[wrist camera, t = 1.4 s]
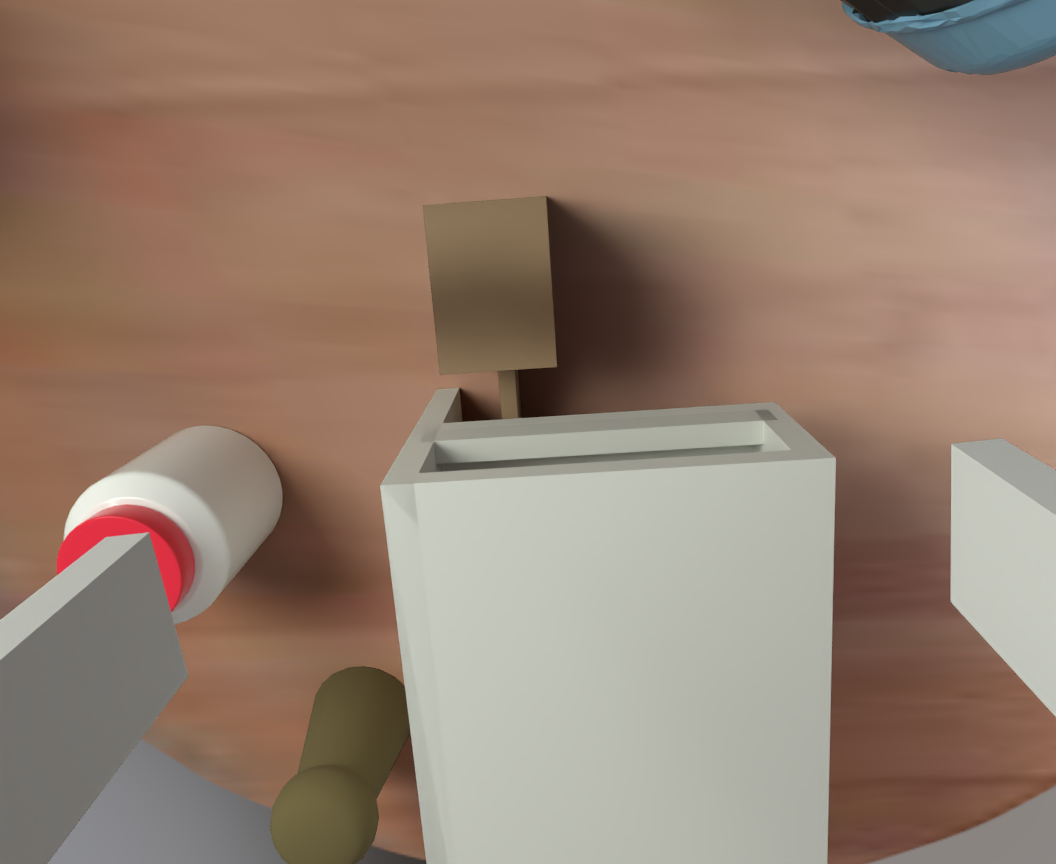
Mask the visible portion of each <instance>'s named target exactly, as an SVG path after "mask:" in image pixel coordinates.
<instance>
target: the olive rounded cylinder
mask: <svg viewBox="0 0 1056 864" xmlns="http://www.w3.org/2000/svg"><path fill="white" fill-rule="evenodd" d="M409 733H410V724H409V716H408V708H407V700H406V692H405V687H404V686H403V685H402V684H401V683H400V682H399V681H398V680H397V679H396V678H395V677H393V676H392V675H390V674H388V673H386V672H384V671H382V670H380V669H375V668H369V667H364V666H363V667H352V668H346V669H344V670H341V671H339V672H336V673H334V674H333V675H332V676H330V677H329V678H328V679H327V680H326V681H325V682H323V683H322V685H321V687H320V689H319V690H318V692H317V694H316V696H315V701H314V705H313V709H312V713H311V718H310V722H309V726H308V731H307V735H306V739H305V744H304V748H303V752H302V757H301V761H300V765H299V769H298V774H297V775H295V776H294V777H293V778H292V779H291V780H289V782H288V783H287V784H286V785H285V786H284V787H283V789H282V790H281V792H280V794H279V796H278V797H277V799H276V801H275V803H274V805H273V809H272V815H271V823H270V831H271V835H272V840H273V843H274V846H275V848H276V849H277V851H278V853H279V854H280V856H281V858H282V859H283V860H284V861H286V863H288V864H356V863H357V862H359V861H360V860H361V859H362V858H363V857H364V855H365V854H366V852H367V851H368V849H369V848H370V846H371V844H372V843H373V841H374V839H375V835H376V830H377V825H378V820H379V814H378V806H377V801H376V799H377V797H378V795H379V793H380V791H381V789H382V787H383V785H384V783H385V781H386V779H387V777H388V775H389V773H390V771H391V769H392V767H393V765H394V763H395V761H396V759H397V757H398V755H399V753H400V751H401V749H402V747H403V745H404V743H405V741H406V739H407V737H408V735H409Z"/></svg>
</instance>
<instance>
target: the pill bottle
mask: <svg viewBox="0 0 1056 864" xmlns="http://www.w3.org/2000/svg"><path fill="white" fill-rule="evenodd" d="M282 505H283V491H282V486H281V481H280V477H279V475H278V473H277V470H276V468H275V466H274V464H273V463H272V461H271V460H270V458H269V457H268V455H267V454H266V453H265V452H264V451H263V450H262V449H261V448H260V447H259V446H258V445H257V444H256V443H255V442H253V441H252V440H250V439H249V438H248V437H246V436H244V435H242V434H240V433H238V432H236V431H234V430H231V429H227V428H223V427H220V426H209V425H203V426H194V427H189V428H186V429H183V430H180V431H178V432H176V433H175V434H173V435H171V436H169V437H168V438H166V439H164V440H163V441H161V442H160V443H158V444H156V445H155V446H153V447H152V448H150V449H148V450H147V451H145V452H144V453H142V454H140V455H139V456H137V457H136V458H134V459H132V460H131V461H129V462H128V463H126V464H124V465H123V466H121V467H120V468H118V469H117V470H115V471H113V472H112V473H110V474H109V475H107V476H105V477H104V478H102V479H101V480H99V481H97V482H96V483H94V484H93V485H91V486H90V487H89V488H88V489H87V490H86V491H85V492H84V493H83V494H81V495H80V497H79V498H78V500H77V501H76V503H75V504H74V506H73V507H72V509H71V510H70V513H69V516H68V518H67V521H66V524H65V531H64V541H63V543H62V545H61V547H60V550H59V553H58V558H57V575H58V574H59V573H61V572H62V571H63V570H65V569H66V568H67V567H68V566H70V565H71V564H72V563H73V562H75V561H76V560H77V559H79V558H80V557H81V556H82V555H84V554H85V553H86V552H87V551H89V550H90V549H91V548H93V547H94V546H95V545H96V544H98V543H99V542H100V541H101V540H103V539H104V538H105V537H111V536H120V535H129V534H138V533H147V532H149V533H150V537H151V540H152V544H153V548H154V551H155V555H156V559H157V562H158V566H159V570H160V573H161V577H162V581H163V584H164V588H165V592H166V595H167V599H168V603H169V606H170V610H171V614H172V617H173V621H174V625H175V624H178V623H181V622H184V621H187V620H189V619H191V618H193V617H195V616H197V615H199V614H200V613H202V612H203V611H204V610H206V609H207V608H208V607H209V606H210V605H211V604H213V602H214V601H215V600H216V599H217V598H218V597H219V595H220V594H221V593H222V592H223V591H224V589H225V588H226V587H227V586H228V585H229V583H230V582H231V581H232V580H233V579H234V577H235V576H236V575H237V574H238V573H239V571H240V570H241V569H242V568H243V567H244V565H245V564H246V563H247V562H248V561H249V559H250V558H251V557H252V556H253V555H254V553H255V552H256V551H257V550H258V549H259V547H260V546H261V545H262V544H263V543H264V541H265V540H266V539H267V538H268V536H269V535H270V534H271V532H272V531H273V530H274V528H275V526H276V524H277V522H278V520H279V518H280V514H281V509H282Z"/></svg>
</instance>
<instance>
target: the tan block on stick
mask: <svg viewBox="0 0 1056 864" xmlns="http://www.w3.org/2000/svg"><path fill="white" fill-rule="evenodd" d="M423 213H424V223H425V233H426V243H427V253H428V263H429V272H430V282H431V292H432V302H433V312H434V322H435V332H436V342H437V352H438V362H439V372H440V375H444V374H459V373H474V372H489V371H498V376H499V389H500V401H501V413H502V419H516V418H522V415H521V402H520V389H519V376H518V370H519V369H534V368H549V367H557V356H556V332H555V317H554V301H553V286H552V270H551V254H550V239H549V223H548V208H547V196H541V197H528V198H515V199H501V200H488V201H475V202H461V203H448V204H435V205H423Z"/></svg>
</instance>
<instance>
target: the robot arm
mask: <svg viewBox="0 0 1056 864" xmlns="http://www.w3.org/2000/svg"><path fill="white" fill-rule="evenodd" d="M841 1H842V2H843V9H844V11H845V13H846V14H847V15H848V16H849V17H850V18H851V19H852V20H854V21H855V22H856V23H857V24H859V25H861V26H863V27H865V28H870V29H873V30H875V31H878V32H883V33H886V34H887V35H889V36H890V37H892V38H893V39H895V40H896V41H898V42H899V43H901V44H902V45H904V46H905V47H907V48H908V49H910V50H911V51H913V52H914V53H916V54H917V55H919V56H920V57H922V58H923V59H925V60H926V61H928V62H929V63H931V64H932V65H934V66H936V67H938V68H941V69H944V70H947V71H951V72H962V73H966V74H980V75H991V74H997V73H1003V72H1007V71H1011V70H1015V69H1019V68H1023V67H1026V66H1029V65H1032V64H1035V63H1037V62H1040V61H1043V60H1045V59H1048V58H1050V57H1052V56H1055V55H1056V0H841ZM951 603H952V604H953V605H954V606H955V607H956V608H957V609H958V610H959V612H960V613H961V614H962V615H963V616H964V617H965V618H966V619H967V620H968V621H969V622H970V624H971V625H972V626H973V627H974V628H975V629H976V630H977V631H978V632H979V633H980V635H981V636H982V637H983V638H984V639H985V640H986V641H987V642H988V643H989V644H990V645H991V647H992V648H993V649H994V650H995V651H996V652H997V653H998V654H999V655H1000V656H1001V657H1002V659H1003V660H1004V661H1005V662H1006V663H1007V664H1008V665H1009V666H1010V667H1011V668H1012V670H1013V671H1014V672H1015V673H1016V674H1017V675H1018V676H1019V677H1020V678H1021V679H1022V680H1023V682H1024V683H1025V684H1026V685H1027V686H1028V687H1029V688H1030V689H1031V690H1032V691H1033V692H1034V694H1035V695H1036V696H1037V697H1038V698H1039V699H1040V700H1041V701H1042V702H1043V703H1044V705H1045V706H1046V707H1047V708H1048V709H1049V710H1050V711H1051V712H1052V713H1053V714H1054V715H1055V717H1056V470H1054V469H1052V468H1051V467H1049V466H1047V465H1046V464H1044V463H1042V462H1041V461H1039V460H1037V459H1036V458H1034V457H1032V456H1031V455H1029V454H1027V453H1026V452H1024V451H1022V450H1020V449H1019V448H1017V447H1015V446H1014V445H1012V444H1010V443H1009V442H1007V441H1005V440H1004V439H1002V438H1001V439H992V440H983V441H974V442H964V443H955V444H951ZM187 677H188V672H187V669H186V665H185V661H184V658H183V654H182V650H181V647H180V643H179V639H178V636H177V632H176V628H175V625H174V621H173V617H172V614H171V610H170V606H169V603H168V599H167V595H166V592H165V588H164V584H163V581H162V577H161V573H160V570H159V566H158V562H157V559H156V555H155V551H154V548H153V544H152V540H151V537H150V533H149V532H147V533H138V534H129V535H120V536H111V537H105V538H104V539H103V540H101V541H100V542H99V543H98V544H96V545H95V546H94V547H93V548H91V549H90V550H89V551H87V552H86V553H85V554H84V555H82V556H81V557H80V558H79V559H77V560H76V561H75V562H73V563H72V564H71V565H70V566H68V567H67V568H66V569H65V570H63V571H62V572H61V573H59V574H58V575H57V576H56V577H54V578H53V579H52V580H51V581H49V582H48V583H47V584H45V585H44V586H43V587H42V588H40V589H39V590H38V591H37V592H35V593H34V594H33V595H32V596H30V597H29V598H28V599H26V600H25V601H24V602H23V603H21V604H20V605H19V606H18V607H16V608H15V609H14V610H12V611H11V612H10V613H9V614H7V615H6V616H5V617H4V618H2V619H1V620H0V864H47V863H48V862H49V861H50V859H51V858H52V857H53V855H54V854H55V853H56V851H57V850H58V849H59V847H60V846H61V845H62V843H63V842H64V841H65V839H66V838H67V837H68V835H69V834H70V833H71V831H72V830H73V829H74V827H75V826H76V825H77V823H78V822H79V821H80V819H81V818H82V816H83V815H84V814H85V813H86V811H87V810H88V809H89V807H90V806H91V805H92V803H93V802H94V801H95V799H96V798H97V797H98V795H99V794H100V793H101V791H102V790H103V789H104V787H105V786H106V785H107V783H108V782H109V781H110V780H111V778H112V777H113V776H114V774H115V773H116V772H117V770H118V769H119V767H120V766H121V765H122V764H123V762H124V761H125V759H126V758H127V757H128V756H129V754H130V753H131V752H132V750H133V749H134V748H135V746H136V745H137V744H138V742H139V741H140V740H141V738H142V737H143V736H144V734H145V733H146V732H147V730H148V729H149V728H150V726H151V725H152V724H153V722H154V721H155V720H156V718H157V717H158V716H159V714H160V713H161V712H162V710H163V709H164V708H165V706H166V705H167V704H168V702H169V701H170V700H171V698H172V697H173V696H174V694H175V693H176V692H177V690H178V689H179V688H180V686H181V685H182V684H183V682H184V681H185V680H186V678H187Z"/></svg>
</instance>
